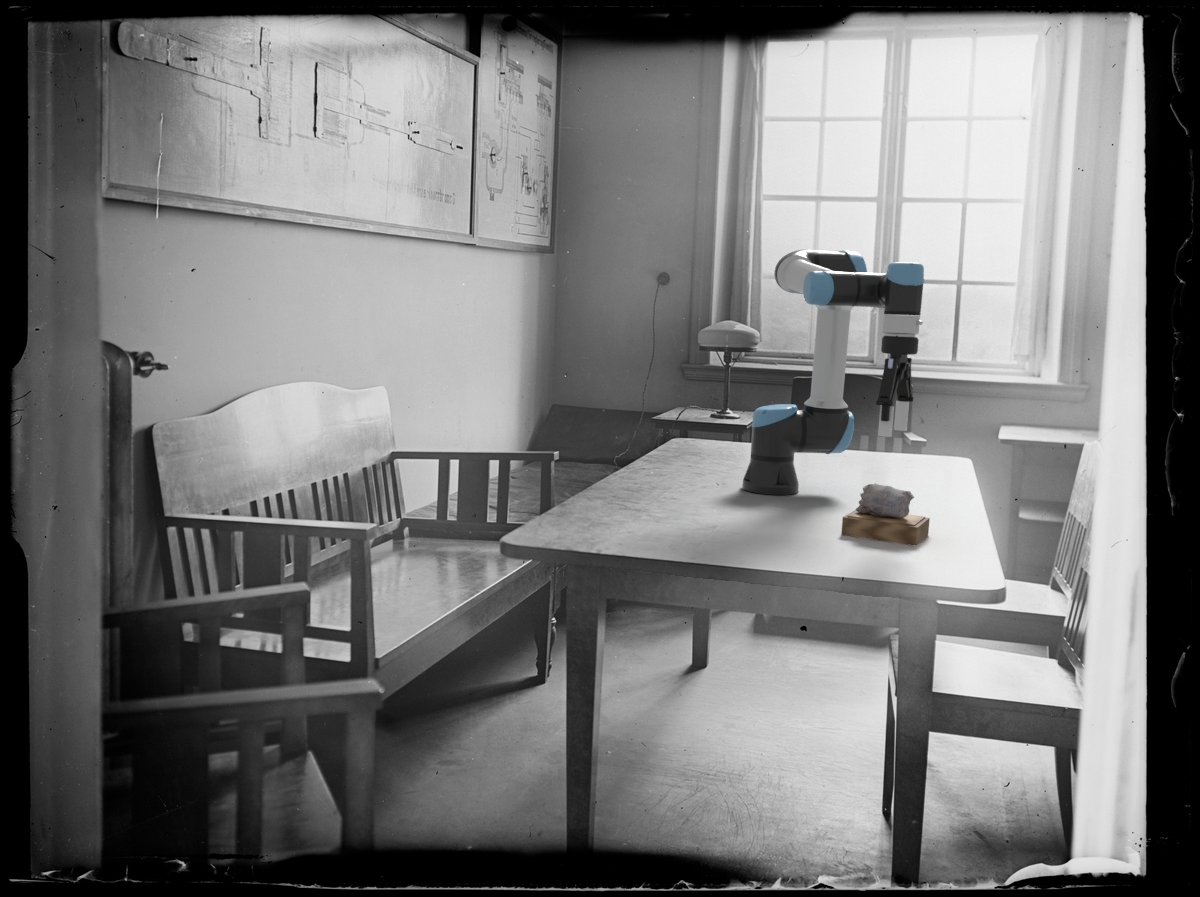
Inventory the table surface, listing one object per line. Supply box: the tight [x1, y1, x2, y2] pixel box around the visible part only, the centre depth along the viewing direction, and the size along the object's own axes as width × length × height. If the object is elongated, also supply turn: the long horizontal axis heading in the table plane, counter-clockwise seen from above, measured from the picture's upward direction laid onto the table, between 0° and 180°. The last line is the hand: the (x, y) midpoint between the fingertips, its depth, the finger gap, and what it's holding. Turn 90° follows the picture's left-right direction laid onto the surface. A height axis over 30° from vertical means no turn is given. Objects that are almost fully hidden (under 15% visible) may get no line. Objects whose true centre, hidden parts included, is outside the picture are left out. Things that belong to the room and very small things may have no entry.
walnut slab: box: [841, 509, 931, 547], centre depth 212 cm, size 16×12×4 cm
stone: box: [855, 483, 915, 518], centre depth 211 cm, size 8×12×7 cm, turn 56°
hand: (892, 433), depth 209 cm, fingers open, 13 cm apart
